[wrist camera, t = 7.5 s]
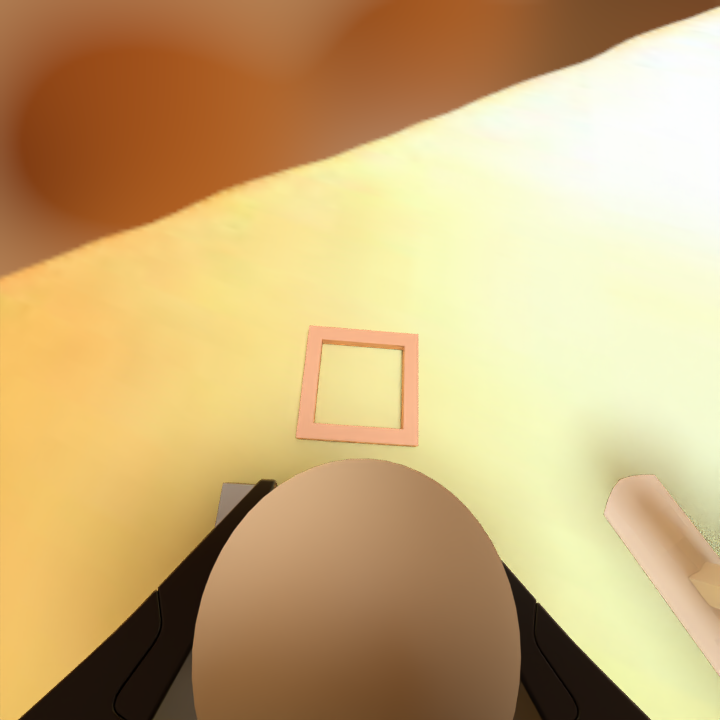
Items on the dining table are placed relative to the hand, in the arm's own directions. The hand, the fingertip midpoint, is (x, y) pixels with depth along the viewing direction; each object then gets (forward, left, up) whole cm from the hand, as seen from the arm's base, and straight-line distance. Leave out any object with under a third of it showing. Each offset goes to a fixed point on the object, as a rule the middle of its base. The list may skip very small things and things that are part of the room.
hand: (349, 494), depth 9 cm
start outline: (+1, +7, -13) cm, 15 cm away
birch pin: (0, -1, -7) cm, 7 cm away
